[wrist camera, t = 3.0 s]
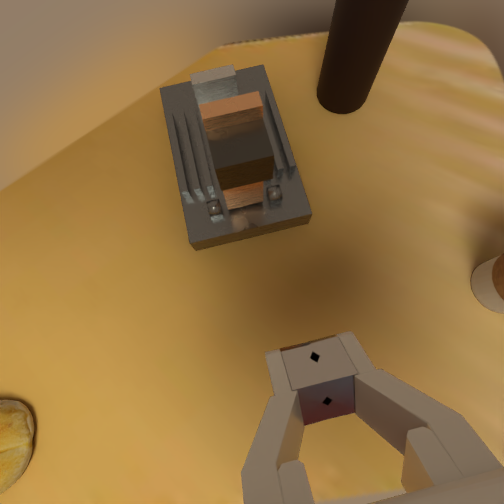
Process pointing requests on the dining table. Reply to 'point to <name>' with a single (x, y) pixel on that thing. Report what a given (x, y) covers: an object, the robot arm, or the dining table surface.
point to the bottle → (356, 50)
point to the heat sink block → (202, 168)
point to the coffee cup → (490, 284)
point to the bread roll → (14, 441)
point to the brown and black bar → (239, 147)
